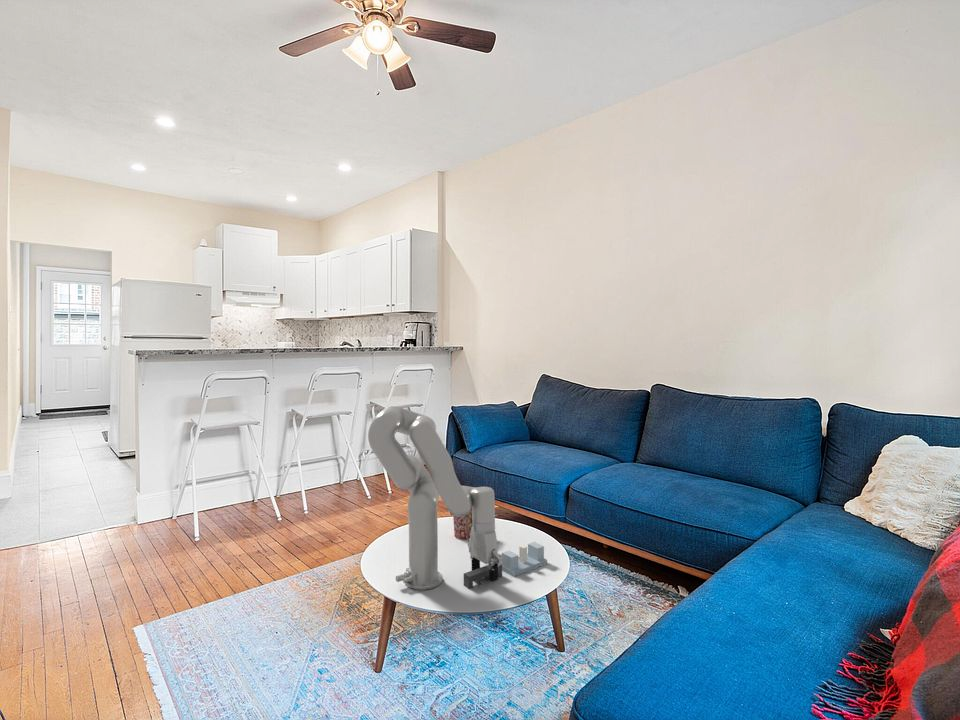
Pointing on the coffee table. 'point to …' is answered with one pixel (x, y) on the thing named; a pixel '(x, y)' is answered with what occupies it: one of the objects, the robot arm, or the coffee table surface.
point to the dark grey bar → (478, 575)
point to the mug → (462, 526)
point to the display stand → (523, 559)
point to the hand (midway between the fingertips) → (484, 575)
